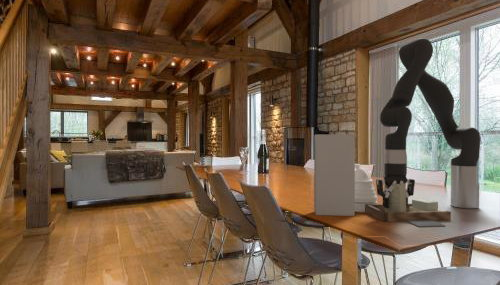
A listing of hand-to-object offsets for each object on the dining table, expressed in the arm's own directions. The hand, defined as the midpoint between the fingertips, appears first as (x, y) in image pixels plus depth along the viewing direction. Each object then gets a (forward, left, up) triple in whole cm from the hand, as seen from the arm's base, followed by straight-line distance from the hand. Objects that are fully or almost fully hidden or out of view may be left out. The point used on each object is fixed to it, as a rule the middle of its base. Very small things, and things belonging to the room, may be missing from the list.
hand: (395, 207), depth 119 cm
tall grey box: (+21, -6, -3) cm, 22 cm away
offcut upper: (-12, 0, -1) cm, 12 cm away
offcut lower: (-12, 0, -4) cm, 12 cm away
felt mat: (-4, +12, -3) cm, 13 cm away
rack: (-4, 0, -3) cm, 5 cm away
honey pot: (+7, -14, -4) cm, 16 cm away
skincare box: (0, 0, -3) cm, 3 cm away
